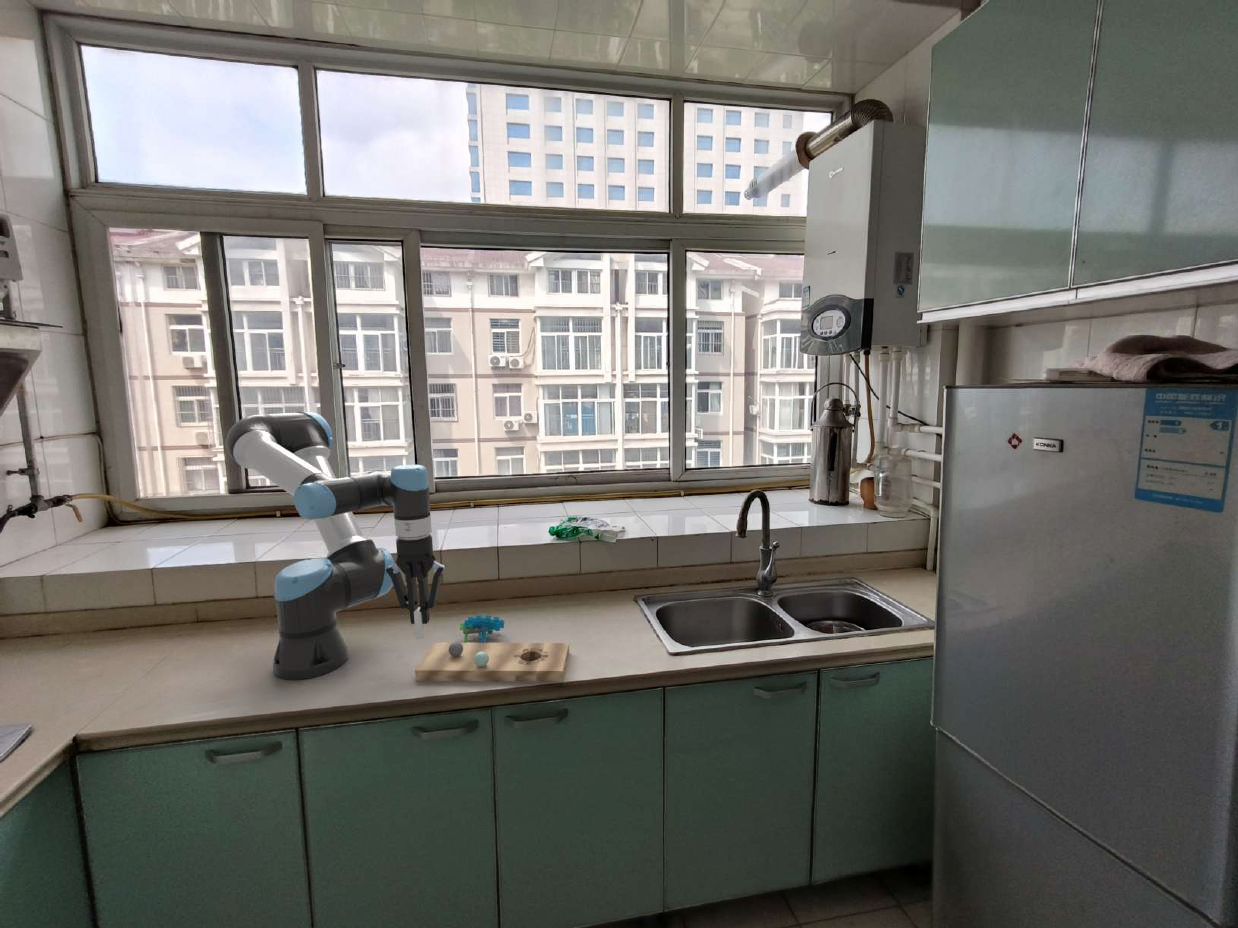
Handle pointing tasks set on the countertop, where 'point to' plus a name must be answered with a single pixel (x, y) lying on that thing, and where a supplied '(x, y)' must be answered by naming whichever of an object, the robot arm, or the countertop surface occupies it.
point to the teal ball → (481, 659)
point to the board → (496, 663)
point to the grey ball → (455, 649)
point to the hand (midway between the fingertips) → (421, 636)
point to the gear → (481, 626)
